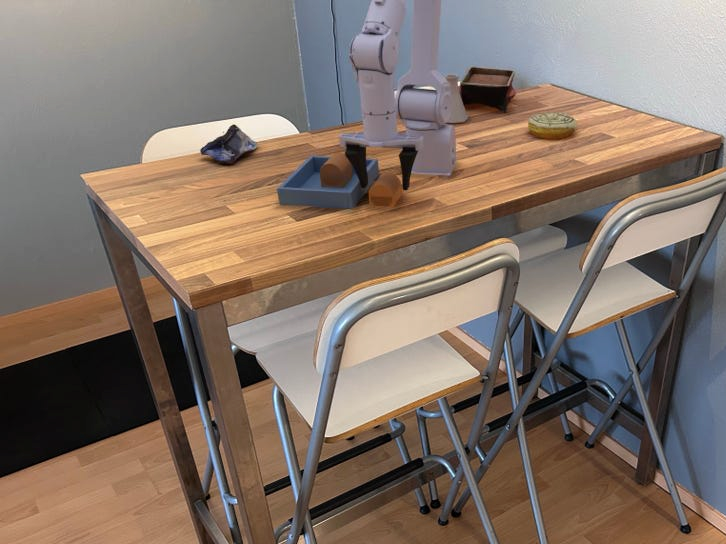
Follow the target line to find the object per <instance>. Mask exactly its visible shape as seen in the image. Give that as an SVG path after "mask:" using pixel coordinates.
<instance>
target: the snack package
mask: <svg viewBox="0 0 726 544" xmlns="http://www.w3.org/2000/svg"><path fill="white" fill-rule="evenodd" d="M222 134H223V135H219V136H218V137H215V139H213V140H211V141H209V142H207V143H206V144H205V145H203V146H202V147H201V148H200V150H199V151H200V154H201V155H202V156H210V157H211V158H213V159H214V160H215V162H216V163H218V164H223V165H224V164H227V165H233V164H234V163H235V161H236V160H237V159H239V158H240V157H241V156H242V155H244V154H245V153H248V152H251V151H254V150H255V149H256V148H257V147H258V145H259V143H258V142H257V140H256V141H255V140H253V139H252V138H251V137H250V136H249V135H248V134H246V133H245V132H244V131H243V130H242V129H241V128H240V127H239V126H238V125H236V124H235V123H234V124H231V125H230V126H229V127H228V129H227V130H226V132H225V131H223V132H222ZM205 159H206V158H205V157H204V158H203V160H205Z"/></svg>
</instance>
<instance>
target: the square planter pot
mask: <svg viewBox="0 0 726 544" xmlns="http://www.w3.org/2000/svg"><path fill="white" fill-rule="evenodd" d="M515 74H516V71H515V70H513V69H506V68H499V67H498V68H497V67H487V66H469V67H468V68H467V70H466V72H465V73H464V75H463V77H462V78H461V80H460V81H459V84H458V88H459V93H460V96H461V99H462V102H463V105H464V107H466V106H468V105H471V104H475V105H476V104H477V105H481V106H484V107H488V108H493V109H496V110H499V111H500V112H503V113H507V110H508V109H507V108H508V106H509V104H510V102H511V100H513V99H514V97H516V95H517V91H516V90H515V88H514V87H513V82H514V78H515Z"/></svg>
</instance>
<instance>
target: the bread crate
mask: <svg viewBox="0 0 726 544" xmlns="http://www.w3.org/2000/svg"><path fill="white" fill-rule="evenodd" d="M330 157H331V156H326V155H325V156H324V155H310V156H309V157H307V159H305V160H304V161H303V162H302V163H301V165H299V166H298V167H297V168H296V169H295V170H294V171H293V172H292V173H291V174H290V175H289V176H288V177H287V178H286V179H285V180H284V181H283V182H282V183H280V185H278V187H276V193H277V198H278V204H279V206H292V207H294V206H295V207H309V208H328V209H342V210H343V209H345V210H353V209H354V208H355V207H356V205H357V204H358V203H359V202H360V200H361V199H362V198H363V196H364V195H365V194H366V193H367V191H369V189H370V188H371V187H372V184H374V183H375V181H376V180H377V179H378V177H379V176H380V168H379V159H378V158H367V157H366V167H367V174H368V185H367V186H366V187H365V188H361V185H360V182H359V179H358V176H357V174H356V172H355V170H354V168H353V166H352V169H353V177H352V178H351V180H350V181H349V182H348V183H347V185H346V186H345V187H344V188H338V187H321V180H320V169H321V167H322V166H323V165H324V164H325V163H326V162H327V161H328V159H329V158H330Z"/></svg>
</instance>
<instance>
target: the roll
mask: <svg viewBox="0 0 726 544" xmlns="http://www.w3.org/2000/svg"><path fill="white" fill-rule="evenodd" d="M329 157H330V158H329V159H328V161H327V162H326V163H325V164H324V165H323V166H322V167H321V169H320V180H321V187H338V188H344V187H345V186H346V185H347V183H348V182H349V181H350V180H351V178H352V177H353V169H352V165H351V163H350V161H349V160H348V159H347V158H346V156H345V153H343V152H335V153H333V154H332V155H331V156H329Z"/></svg>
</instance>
